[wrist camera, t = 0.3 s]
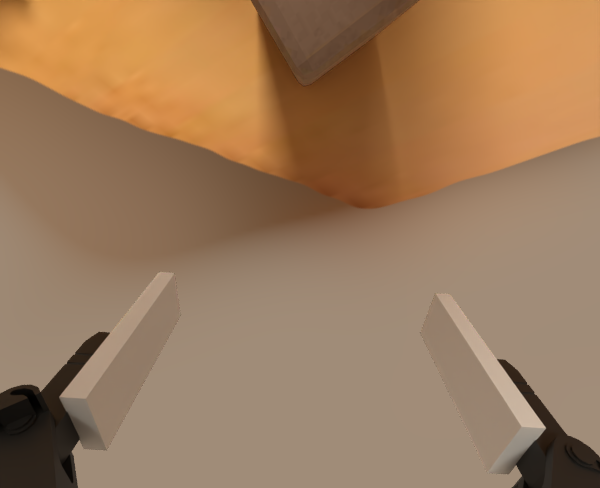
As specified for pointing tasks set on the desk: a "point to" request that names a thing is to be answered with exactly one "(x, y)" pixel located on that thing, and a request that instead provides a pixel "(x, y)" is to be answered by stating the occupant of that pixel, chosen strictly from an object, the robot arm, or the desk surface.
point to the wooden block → (325, 30)
